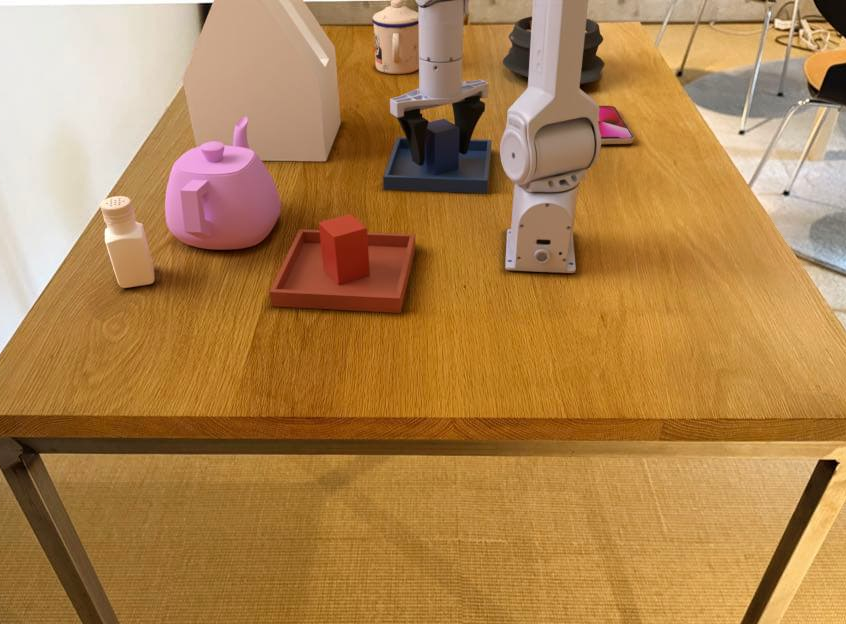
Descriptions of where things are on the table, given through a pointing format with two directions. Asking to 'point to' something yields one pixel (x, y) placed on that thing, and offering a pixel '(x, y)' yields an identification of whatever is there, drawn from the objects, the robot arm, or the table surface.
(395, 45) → the teacup with lid
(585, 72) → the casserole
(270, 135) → the milk carton
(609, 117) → the smartphone
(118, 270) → the pepper shaker
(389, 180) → the blue tray
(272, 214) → the teapot
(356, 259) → the red block
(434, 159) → the blue block
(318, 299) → the red tray
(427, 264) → the table surface
